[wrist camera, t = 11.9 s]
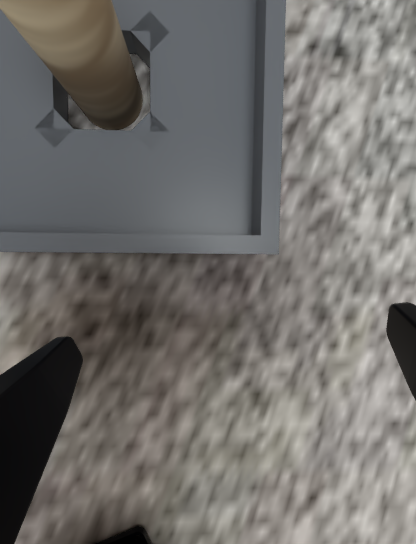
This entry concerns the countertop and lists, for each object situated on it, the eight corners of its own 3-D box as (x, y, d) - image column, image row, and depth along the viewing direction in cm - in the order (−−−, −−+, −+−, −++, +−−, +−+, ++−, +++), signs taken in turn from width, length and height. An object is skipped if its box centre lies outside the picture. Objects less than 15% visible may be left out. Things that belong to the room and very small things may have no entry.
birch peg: (121, 142, 19) (-29, -80, 6) (68, 106, 19) (-205, -205, 6) (154, 90, 19) (70, -247, 6) (101, 53, 19) (-106, -387, 6)
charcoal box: (259, 253, 20) (278, 254, 16) (-40, 250, 19) (-111, 250, 15) (267, -59, 19) (290, -157, 14) (-59, -80, 18) (-144, -191, 13)
